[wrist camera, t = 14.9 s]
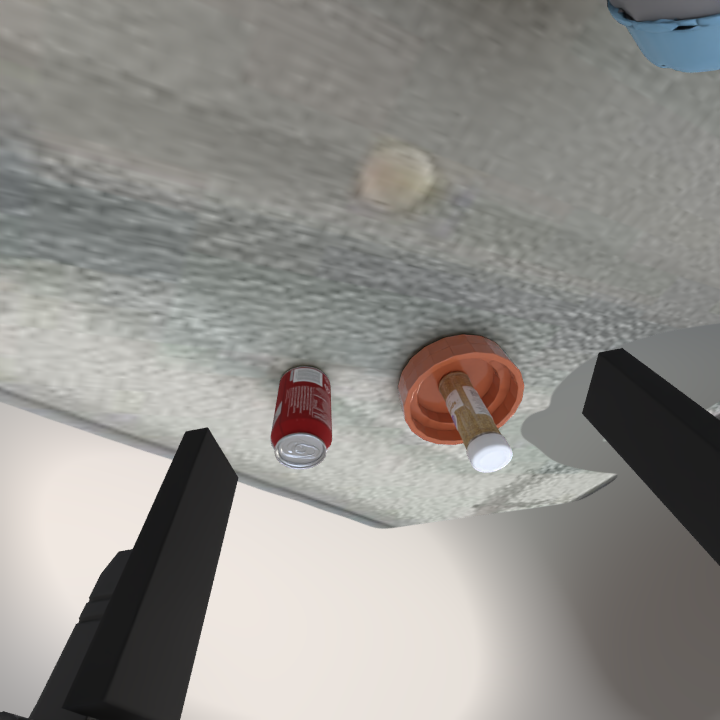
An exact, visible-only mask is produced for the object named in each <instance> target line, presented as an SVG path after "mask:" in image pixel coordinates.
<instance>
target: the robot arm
mask: <svg viewBox="0 0 720 720" xmlns="http://www.w3.org/2000/svg"><path fill="white" fill-rule="evenodd" d="M607 7H608V9H609V11H610V13H611V15H612V16H613V18H614V19H616V20H617V21H618V22H619V23H620V24H622V25H625V26H626V27H627V29H628V31H629V32H630V34H631V35H632V37H633V39H634V40H635V42H636V43H637V45H638V47H639V48H640V50H641V51H642V53H643V54H644V56H645V57H646V58H647V59H648V60H649V61H650V62H652V63H653V64H655V65H656V66H658V67H661V68H672V69H674V70H676V71H681V72H704V71H712V70H719V69H720V0H607ZM582 414H583V415H584V416H585V417H586V418H587V419H588V420H589V422H590V423H591V424H592V425H593V426H594V427H595V428H596V429H597V430H598V432H599V433H600V434H601V435H602V436H603V437H604V438H605V439H606V440H607V442H608V443H609V444H610V445H611V446H612V447H613V448H614V449H615V450H616V451H617V453H618V454H619V455H620V456H621V457H622V458H623V459H624V460H625V461H626V463H627V464H628V465H629V466H630V467H631V468H632V469H633V470H634V471H635V472H636V474H637V475H638V476H639V477H640V478H641V479H642V480H643V481H644V482H645V483H646V485H647V486H648V487H649V488H650V489H651V490H652V491H653V493H654V494H655V495H656V496H657V497H658V498H659V499H660V500H661V501H662V502H663V504H664V505H665V506H666V507H667V508H668V509H669V510H670V511H671V512H672V514H673V515H674V516H675V517H676V518H677V519H678V520H679V521H680V522H681V523H682V525H683V526H684V527H685V528H686V529H687V530H688V531H689V532H690V533H691V535H692V536H693V537H694V538H695V539H696V540H697V541H698V542H699V544H700V545H701V546H702V547H703V548H704V549H705V550H706V551H707V552H708V553H709V555H710V556H711V557H712V558H713V559H714V560H715V561H716V562H717V563H718V564H719V566H720V420H718V419H717V418H716V417H714V416H713V415H712V414H710V413H709V412H708V411H706V410H705V409H704V408H702V407H701V406H700V405H698V404H697V403H696V402H694V401H693V400H691V399H690V398H689V397H687V396H686V395H685V394H683V393H682V392H681V391H679V390H678V389H677V388H675V387H674V386H673V385H671V384H670V383H669V382H667V381H666V380H665V379H663V378H662V377H661V376H659V375H658V374H656V373H655V372H654V371H652V370H651V369H650V368H648V367H647V366H646V365H644V364H643V363H641V362H640V361H639V360H638V359H636V358H635V357H633V356H632V355H631V354H630V353H628V352H627V351H625V350H624V349H623V348H621V349H615V350H610V351H605V352H600V353H599V354H598V358H597V362H596V365H595V368H594V372H593V376H592V380H591V383H590V387H589V390H588V394H587V397H586V401H585V405H584V408H583V412H582ZM237 481H238V476H237V475H236V473H235V471H234V470H233V468H232V467H231V465H230V463H229V462H228V460H227V458H226V457H225V455H224V453H223V452H222V450H221V448H220V447H219V445H218V443H217V442H216V440H215V439H214V437H213V435H212V434H211V432H210V430H209V429H208V427H207V428H202V429H197V430H192V431H186V432H185V434H184V436H183V438H182V441H181V443H180V445H179V447H178V450H177V452H176V454H175V456H174V458H173V461H172V463H171V465H170V467H169V470H168V472H167V474H166V476H165V479H164V481H163V483H162V485H161V487H160V490H159V492H158V494H157V496H156V499H155V501H154V503H153V505H152V508H151V510H150V512H149V514H148V516H147V519H146V521H145V523H144V525H143V528H142V530H141V532H140V534H139V537H138V539H137V541H136V543H135V545H134V548H133V549H131V550H125V551H120V552H118V553H117V555H116V556H115V557H114V558H113V559H112V561H111V562H110V563H109V565H108V566H107V567H106V568H105V569H104V571H103V572H102V573H101V575H100V577H99V579H98V581H97V583H96V585H95V587H94V589H93V591H92V593H91V595H90V597H89V599H90V600H89V602H88V603H86V605H85V607H84V609H83V611H82V613H81V615H80V617H79V623H78V624H76V626H75V628H74V629H73V631H72V634H71V635H70V637H69V639H68V641H67V644H66V646H65V648H64V650H63V652H62V654H61V656H60V658H59V660H58V662H57V664H56V666H55V668H54V670H53V672H52V674H51V676H50V678H49V680H48V682H47V684H46V686H45V688H44V690H43V692H42V694H41V696H40V698H39V700H38V702H37V704H36V706H35V708H34V709H33V711H32V713H31V715H30V717H29V718H25V717H21V716H18V715H14V714H11V713H7V712H4V711H3V712H0V720H180V718H181V713H182V710H183V705H184V701H185V697H186V693H187V689H188V685H189V681H190V676H191V672H192V668H193V664H194V660H195V656H196V651H197V647H198V643H199V639H200V635H201V631H202V626H203V622H204V618H205V614H206V610H207V606H208V602H209V597H210V593H211V589H212V585H213V581H214V576H215V572H216V568H217V564H218V560H219V556H220V552H221V547H222V543H223V539H224V535H225V531H226V527H227V523H228V518H229V514H230V510H231V506H232V502H233V497H234V493H235V489H236V485H237Z"/></svg>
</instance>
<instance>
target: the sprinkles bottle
mask: <svg viewBox="0 0 720 720" xmlns="http://www.w3.org/2000/svg"><path fill="white" fill-rule="evenodd" d="M439 392H440V393H441V395H442V396H443V398H444V401H445V403H446V406H447V408H448V411H449V413H450V415H451V417H452V419H453V422H454V424H455V426H456V428H457V430H458V432H459V434H460V436H461V438H462V440H463V443H464V445H465V447H466V450H467V451H466V452H467V456H468V458H469V460H470V462H471V465H472V466H473V468H474V469H476V470H477V471H480V472H493V471H496V470H499V469H501V468H503V467H504V466H506V465H507V464H508V463H509V462H510V460H511V459H512V456H513V452H512V449H511V447H510V445H509V444H508V442H507V440H506V439H505V437H504V436H502V435H501V433H500V431H499V430H498V428H497V426H496V425H495V423H494V421H493V418H492V416H491V415H490V413H489V411H488V410H487V408H486V406H485V405H484V403H483V401H482V399H481V398H480V396H479V394H478V393H477V391H476V390H475V389H474V387H473V385H472V384H471V381H470V378H469V377H468V375H467V374H465V373H463V372H451V373H449V374H447V375H446V376H444V377H443V378H442V380H441V381H440V383H439Z"/></svg>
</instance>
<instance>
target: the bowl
mask: <svg viewBox="0 0 720 720" xmlns="http://www.w3.org/2000/svg"><path fill="white" fill-rule="evenodd" d="M451 372H463V373H465V374H467V375H468V377H469V378H470V381H471V384H472V385H473V387H474V389H475V390H476V391H477V393H478V394H479V396H480V398H481V399H482V401H483V403H484V405H485V406H486V408H487V410H488V411H489V413H490V415H491V416H492V418H493V421H494V423H495V425H496V426H497V428H500V427H501V426H503V425H504V424H505V423H506V422H507V421H508V420H509V419H510V418H511V417H512V416H513V415H514V413H515V412H516V410H517V408H518V406H519V404H520V403H521V401H522V397H523V391H524V382H523V379H522V375H521V372H520V370H519V369H518V368H517V367H516V365H515V364H514V363H513V362H512V360H511V359H510V358H509V357H508V355H507V354H506V353H505V352H504V351H503V350H502V349H501V347H500V346H499V345H498V344H497V343H495V342H493V341H491V340H489V339H487V338H484V337H482V336H476V335H466V334H462V335H456V336H451V337H445V338H443V339H441V340H438V341H436V342H434V343H432V344H430V345H427V346H425V347H424V348H423V349H422V350H421V351H419V352H418V353H417V354H416V355H414V356H413V357H412V358H411V360H410V361H409V362H408V364H407V365H406V367H405V368H404V370H403V371H402V374H401V377H400V381H399V384H398V392H399V400H400V404H401V407H402V411H403V414H404V418H405V421H406V422H407V424H408V426H409V427H410V429H411V431H412V432H414V433H415V434H416V435H418V436H419V437H420V438H422V439H423V440H426V441H429V442H432V443H436V444H448V445H456V444H462V443H463V440H462V438H461V436H460V434H459V432H458V430H457V428H456V426H455V424H454V422H453V419H452V417H451V415H450V413H449V411H448V408H447V406H446V403H445V401H444V398H443V396H442V395H441V393H440V392H439V383H440V381H441V380H442V378H443V377H444V376H446V375H447V374H449V373H451Z"/></svg>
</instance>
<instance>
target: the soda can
mask: <svg viewBox="0 0 720 720" xmlns="http://www.w3.org/2000/svg"><path fill="white" fill-rule="evenodd" d="M331 442H332V422H331V389H330V381H329V379H328V377H327V376H326V375H325V374H324V373H323V372H322V371H320V370H319V369H316V368H313V367H309V366H300V367H296V368H293V369H291V370H289V371H287V372H286V373H285V374H284V375H283V376H282V378H281V380H280V384H279V390H278V396H277V402H276V408H275V414H274V420H273V426H272V432H271V444H272V446H273V448H274V450H275V456H276V458H277V460H278V461H279V462H280V463H281V464H283V465H284V466H287V467H289V468H293V469H307V468H311V467H314V466H316V465H318V464H320V463H321V462H322V461H323V460H324V458H325V456H326V452H327V450H328V449H329V447H330V445H331Z"/></svg>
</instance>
